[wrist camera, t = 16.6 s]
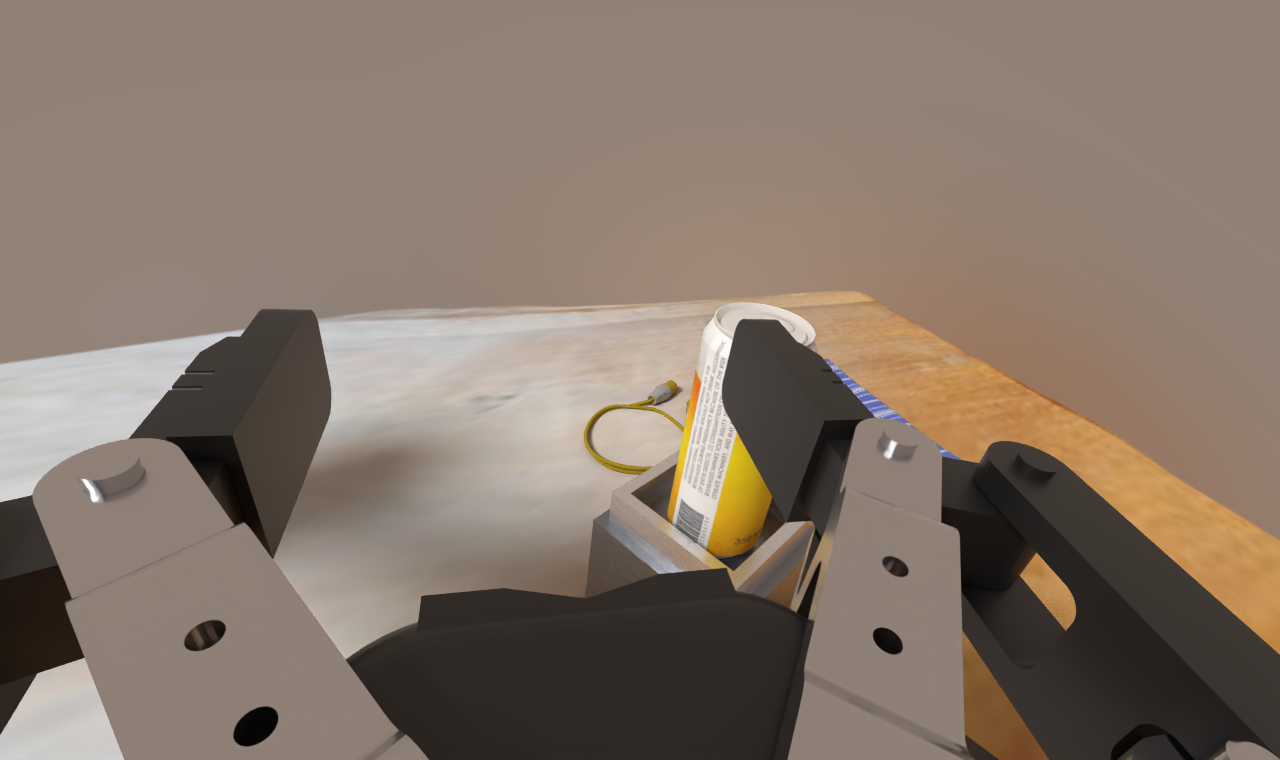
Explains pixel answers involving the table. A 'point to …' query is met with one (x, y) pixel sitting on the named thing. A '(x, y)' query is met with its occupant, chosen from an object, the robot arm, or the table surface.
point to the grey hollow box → (687, 543)
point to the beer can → (722, 446)
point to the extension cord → (655, 397)
